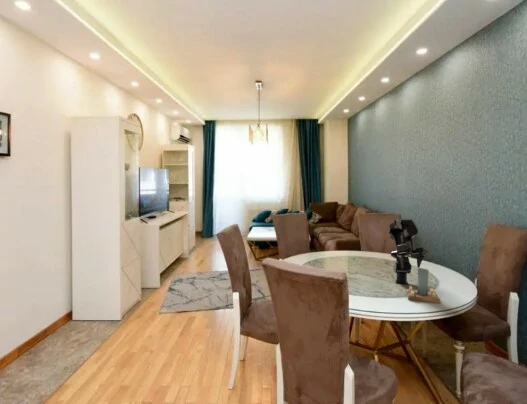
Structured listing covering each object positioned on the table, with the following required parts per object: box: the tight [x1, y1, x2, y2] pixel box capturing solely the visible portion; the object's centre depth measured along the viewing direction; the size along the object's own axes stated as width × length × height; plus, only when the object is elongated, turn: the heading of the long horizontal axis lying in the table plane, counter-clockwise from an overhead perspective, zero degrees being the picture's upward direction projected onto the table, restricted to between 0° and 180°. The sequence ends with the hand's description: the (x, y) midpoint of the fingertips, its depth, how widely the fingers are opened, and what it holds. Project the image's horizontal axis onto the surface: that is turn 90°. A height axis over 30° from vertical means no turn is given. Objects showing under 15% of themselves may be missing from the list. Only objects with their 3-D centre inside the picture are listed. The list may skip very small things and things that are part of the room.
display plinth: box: [405, 285, 440, 304], centre depth 167 cm, size 12×14×4 cm
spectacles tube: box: [416, 267, 429, 296], centre depth 166 cm, size 5×5×13 cm
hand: (410, 268), depth 176 cm, fingers open, 9 cm apart
